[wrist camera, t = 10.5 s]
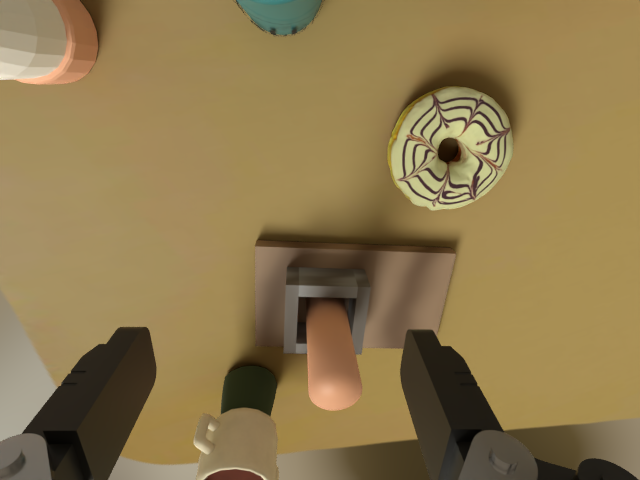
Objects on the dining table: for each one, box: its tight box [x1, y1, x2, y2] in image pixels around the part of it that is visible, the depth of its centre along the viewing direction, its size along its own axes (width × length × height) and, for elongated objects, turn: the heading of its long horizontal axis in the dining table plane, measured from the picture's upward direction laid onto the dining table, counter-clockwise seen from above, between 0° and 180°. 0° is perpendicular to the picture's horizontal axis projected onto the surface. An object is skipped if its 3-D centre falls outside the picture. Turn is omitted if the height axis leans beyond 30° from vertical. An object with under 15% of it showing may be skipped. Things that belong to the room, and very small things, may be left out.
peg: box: [306, 297, 362, 410], centre depth 33 cm, size 4×4×12 cm
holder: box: [255, 240, 456, 354], centre depth 38 cm, size 20×12×5 cm, turn 86°
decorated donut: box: [387, 86, 513, 210], centre depth 32 cm, size 10×11×4 cm
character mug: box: [194, 366, 279, 480], centre depth 38 cm, size 11×7×13 cm, turn 38°
